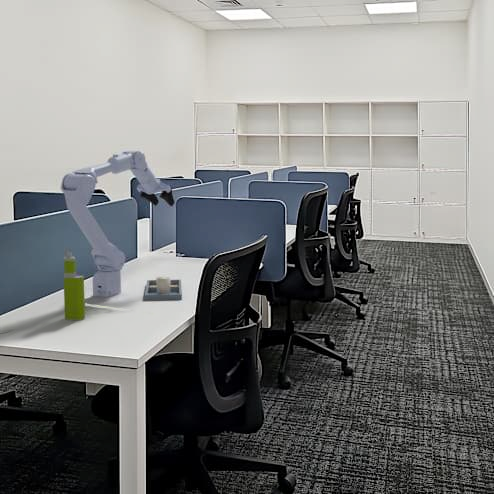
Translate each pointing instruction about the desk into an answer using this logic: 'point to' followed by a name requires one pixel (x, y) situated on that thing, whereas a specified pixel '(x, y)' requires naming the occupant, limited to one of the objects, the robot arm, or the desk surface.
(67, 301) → the vape
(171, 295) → the tray
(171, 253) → the desk surface
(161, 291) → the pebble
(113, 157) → the robot arm
